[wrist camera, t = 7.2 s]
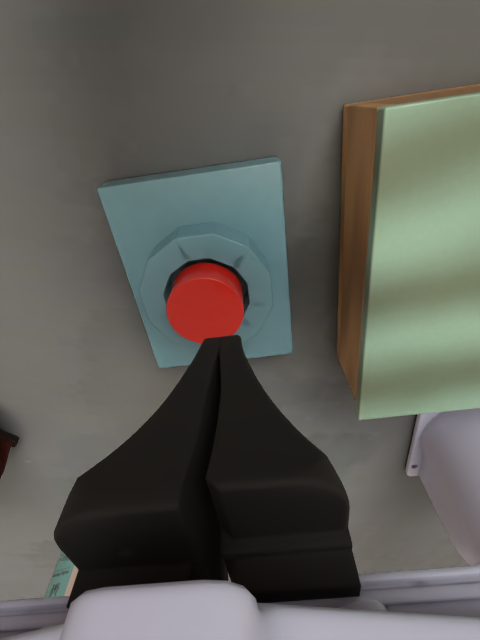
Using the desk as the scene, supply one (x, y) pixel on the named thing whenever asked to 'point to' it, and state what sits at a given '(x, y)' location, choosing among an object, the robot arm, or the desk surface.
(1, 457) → the mate gourd
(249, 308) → the block
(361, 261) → the box
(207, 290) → the button
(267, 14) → the desk surface
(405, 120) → the lid
